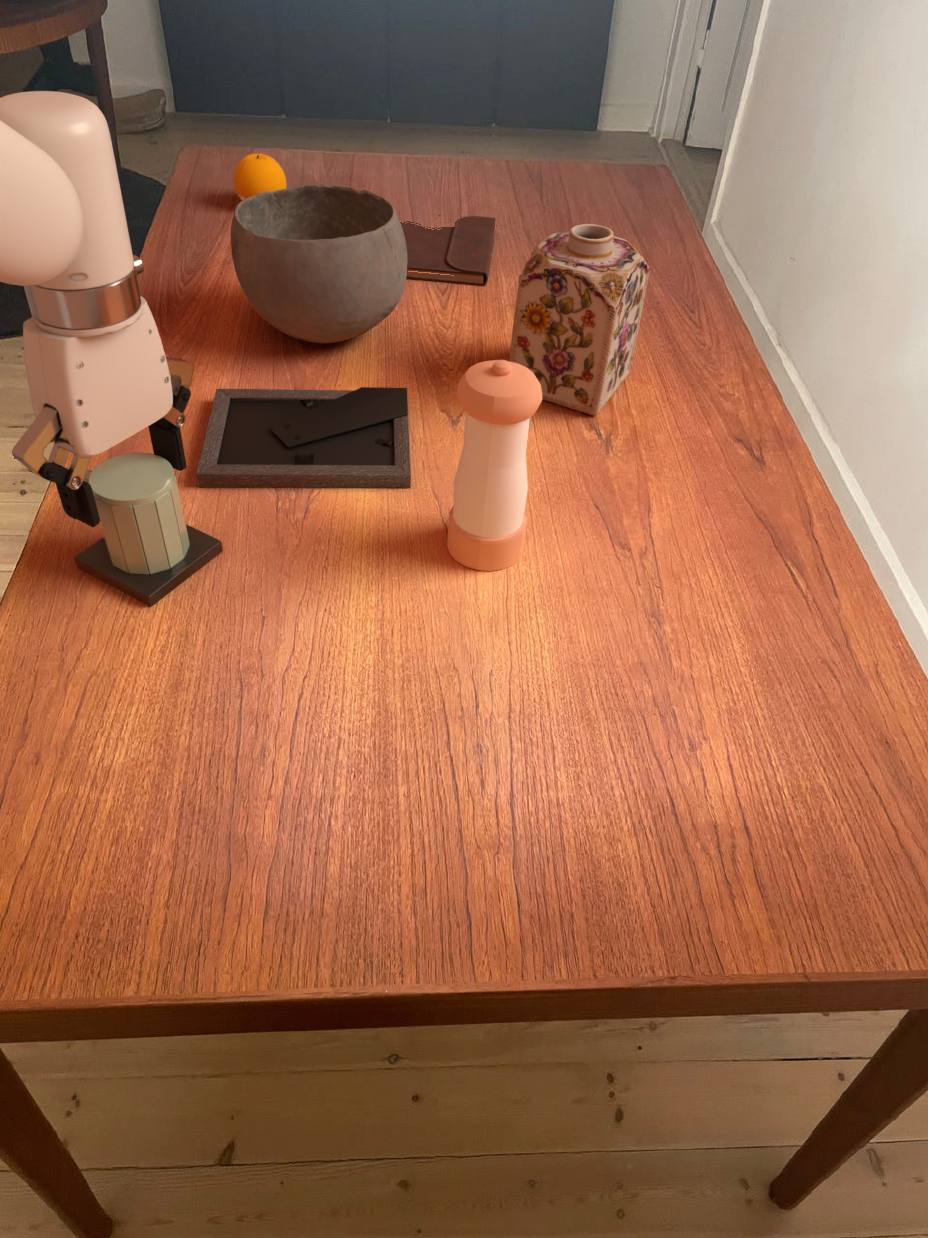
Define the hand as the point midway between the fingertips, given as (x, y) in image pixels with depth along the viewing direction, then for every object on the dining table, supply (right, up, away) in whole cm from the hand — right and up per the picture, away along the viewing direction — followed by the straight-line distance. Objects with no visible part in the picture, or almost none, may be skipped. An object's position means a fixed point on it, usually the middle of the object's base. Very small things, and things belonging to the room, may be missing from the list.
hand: (129, 490), depth 76 cm
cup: (-1, -4, +6) cm, 7 cm away
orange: (-3, +54, +66) cm, 85 cm away
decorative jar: (+41, +17, +32) cm, 55 cm away
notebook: (+25, +43, +57) cm, 75 cm away
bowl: (+11, +26, +38) cm, 47 cm away
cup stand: (0, -5, +6) cm, 8 cm away
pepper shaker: (+30, -4, +10) cm, 32 cm away
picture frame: (+12, +8, +20) cm, 25 cm away
